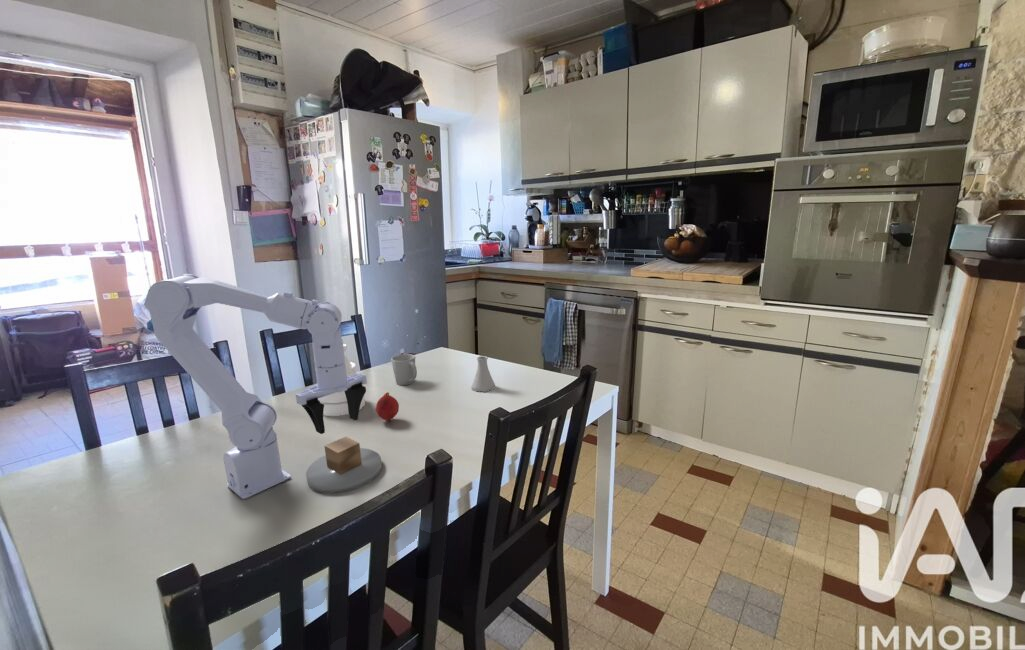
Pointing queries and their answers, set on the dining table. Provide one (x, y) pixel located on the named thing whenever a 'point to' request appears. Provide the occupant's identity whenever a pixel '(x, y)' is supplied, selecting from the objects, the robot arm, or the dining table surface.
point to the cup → (404, 368)
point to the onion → (387, 407)
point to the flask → (483, 376)
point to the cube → (343, 455)
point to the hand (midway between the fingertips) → (337, 425)
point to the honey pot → (339, 395)
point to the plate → (334, 482)
